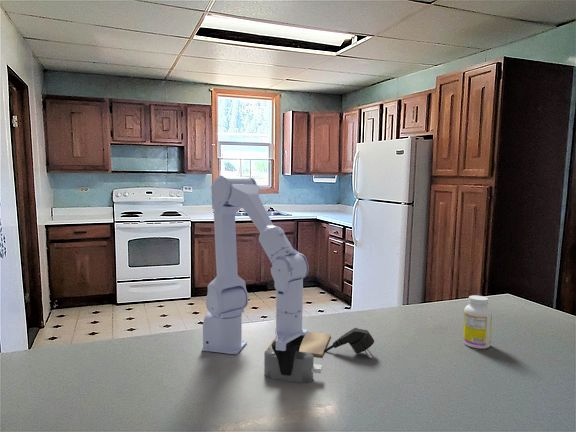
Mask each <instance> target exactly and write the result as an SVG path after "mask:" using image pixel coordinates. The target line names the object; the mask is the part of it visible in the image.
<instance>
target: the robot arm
mask: <svg viewBox="0 0 576 432" xmlns="http://www.w3.org/2000/svg"><path fill="white" fill-rule="evenodd" d="M210 189H211V209H212V210H213V225H214V246H215V247H214V248H215V249H214V251H215V267H216V268H215V269H216V270H215V271H216V276H215V278H214V279H213V280H211V282H209V284H208V285H207V294H206V297H205V305H206V308H207V313H205V316H204V318H203V322H202V347H201V350H202V351H203V352H212V353H213V352H214V353H221V354H228V355H238V353H239V352H240V351H241V350H242V349H243V348H244V347H245V346H246V345H247V343H248V341H247V340H242V335H243V333H242V329H243V327H242V325H243V324H242V321H243V320H242V318H243V317H242V316H243V315H242V313H245V308H247V307H248V305H249V293H248V291H247V286H246V281H245V280H244V279H243V278H241V277H240V276H239V275H238V272H239V271H238V252H237V251H238V250H237V249H238V248H237V230H236V227H237V226H236V214H237V213H238V212H239V211H240V209H243V210H244V211H245V213H246V214H247V216H248V217H249V219H250V220H251V221H252V223H253V224H254V226H255V227H256V228H257V230H258V231H259V235H258V242H259V243H260V246H261V247H262V248H263V250H264V252H265V254H266V255H267V258H268V259H269V261H270V263H271V266H272V267H270V274H271V277H272V279H273V282H274V283H273V284H274V285H273V286H274V289H275V290H276V296H275V297H276V299H275V300H276V303H275V305H276V311H275V319H276V320H275V329H274V333H275V338H276V339H277V340H276V341H274V342H273V341H272V342H273V343H272V342H271V343H272V349H273V351H274V352H275V354H276V357H277V359H278V363H279V368H280V372H281V375H287V376H290V375H291V373H292V368H293V361H294V357H295V353H296V351H299V349H300V346H301V343H302V340H303V338H304V336H305V335H307V333H308V332H309V331H308V329H307V328H303V307H304V306H303V303H304V302H303V294H304V293H303V289H304V279H305V278H306V277H307V276H308V274H309V270H310V267H309V262H308V259H307V257H306V255H304V254H303V253H302V252H299V251H297V249H294V248H293V246H292V244H291V242H290V241H289V239H288V237H287V236H286V234H285V231H284V229H283V228H282V227H280V226H276V225H274V224H273V222H272V220H271V218H270V215H269V214H268V211H267V210H266V207H265V205H264V204H263V202H262V199H261V198H260V191H261V190H260V187H259V186H258V184H257V181H256V180H255V178H253V177H252V176H225V175H219V176H217V177H216V178H215V179H214V181H213V182H212V184H211V186H210Z"/></svg>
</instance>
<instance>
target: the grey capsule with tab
mask: <svg viewBox="0 0 576 432" xmlns="http://www.w3.org/2000/svg"><path fill="white" fill-rule="evenodd" d="M263 354H264V359H263V360H264V361H263V362H264V365H263V367H264V368H263V369H264V370H263V371H264V372H263V373H264V376H265V378H268V379H273V380H280V381H281V380H282V381H288V382H294V383H295V382H297V383H304V384H305V383H306V384H307V383H310V382H312V381H313V380H314V374H319V375H320V374H321V373H322V371H323V364H319V363H317V364H316V363H314V357H315V356H313V354H311V353H307V352H299V351H296V353H295V357H294V361H293V368H292V373H291V375H290V376H287V375H281V372H280V368H279V363H278V359H277V357H276V354H275V352H274V351H273V349H268V348H267V349H266V350H265V351H264V353H263Z"/></svg>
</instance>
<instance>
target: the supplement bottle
mask: <svg viewBox="0 0 576 432" xmlns="http://www.w3.org/2000/svg"><path fill="white" fill-rule="evenodd" d="M468 303H469V304H466V306H465V307H464V308H463V309H464V311H463V312H464V313H463V338H462V339H463V344H465V345H466V347H469V348H470V347H471V348H474V349H479V350H482V349H488V348H490V346H491V343H492V342H491V338H492V317H493V316H492V314H493V313H492V309H491V308H490V307H489V306H488V304H489V298H488V297H486V296H483V295H477V294H476V295H469V296H468Z"/></svg>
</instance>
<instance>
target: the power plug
mask: <svg viewBox="0 0 576 432" xmlns="http://www.w3.org/2000/svg"><path fill="white" fill-rule="evenodd" d="M374 343H375V339H374V338H373V336H372V335H371V333H370V332H369V330H367V329H362V328H357V327H354V328H352V329H350V330H348V331H347V332H346V333H344V334H342V335H341V336H340V337H339V338H337V339H336V340H335V341H334V342H332V345H330V346H328V347H326V349H325V351H324V353H327V352H328V351H330V350H332V349H333V348H334V349H337V348H339V347H341V346H343V345H346V344H348V345H349V346H350V347H351V348H352V350H353V352H354V353H355V354H361V353H364V352H365V354H366V355H367V357H368V358H369V359H372V353H373V352H372V350H371V349H370V348H371V347H372V346H373V345H374Z"/></svg>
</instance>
